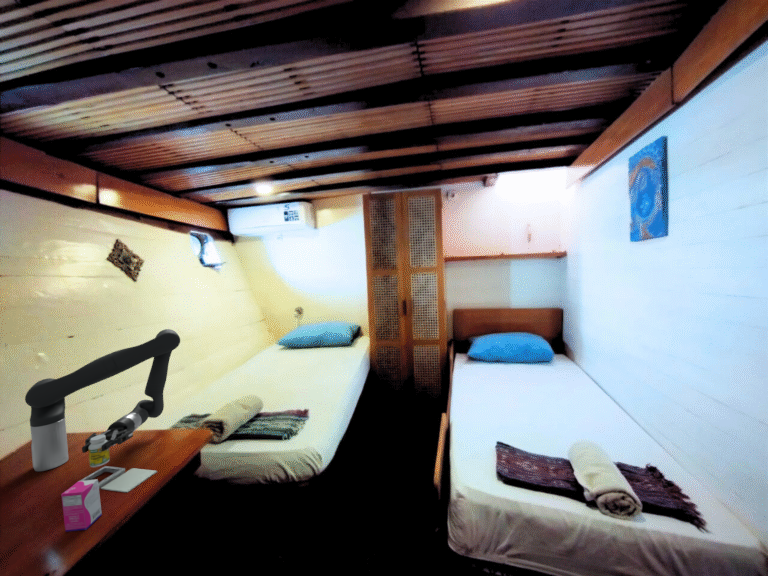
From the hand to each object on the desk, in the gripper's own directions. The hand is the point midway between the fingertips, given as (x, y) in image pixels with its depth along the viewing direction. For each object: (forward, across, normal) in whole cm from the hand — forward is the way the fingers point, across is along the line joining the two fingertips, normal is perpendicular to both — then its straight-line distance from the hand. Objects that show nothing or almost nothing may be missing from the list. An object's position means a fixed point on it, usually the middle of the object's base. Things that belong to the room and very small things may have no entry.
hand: (93, 449), depth 109 cm
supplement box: (+20, +10, +12) cm, 25 cm away
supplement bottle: (-3, 0, +7) cm, 7 cm away
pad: (0, +11, +12) cm, 16 cm away
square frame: (-3, 0, +12) cm, 13 cm away
